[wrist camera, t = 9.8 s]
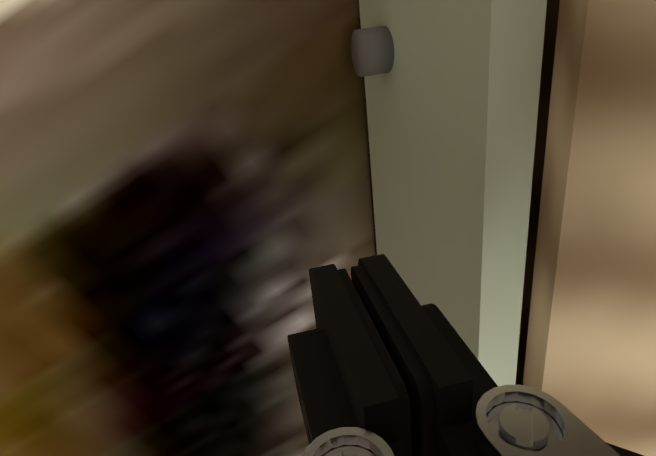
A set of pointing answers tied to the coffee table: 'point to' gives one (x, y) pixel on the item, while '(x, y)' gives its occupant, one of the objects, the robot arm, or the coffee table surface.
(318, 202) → the coffee table surface
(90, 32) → the coffee table surface
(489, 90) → the sage door
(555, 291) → the oak cabinet
